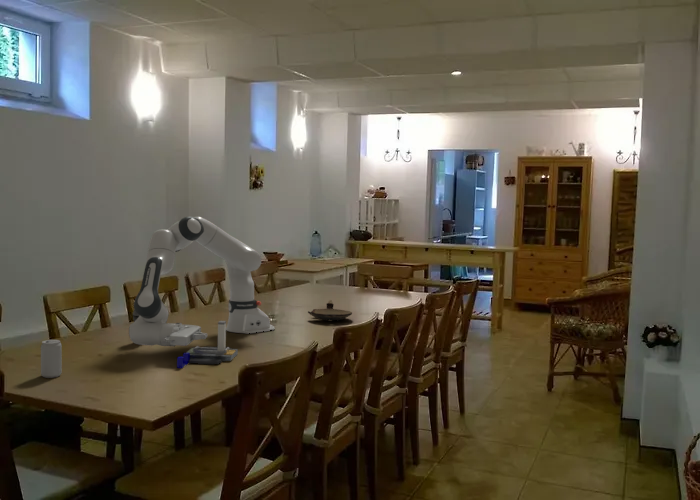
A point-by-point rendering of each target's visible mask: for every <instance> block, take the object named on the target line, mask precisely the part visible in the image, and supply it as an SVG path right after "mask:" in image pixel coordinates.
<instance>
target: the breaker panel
mask: <svg viewBox="0 0 700 500" xmlns="http://www.w3.org/2000/svg"><path fill="white" fill-rule="evenodd" d="M226 347H227V348H226V349H225V350H224V351H218V348H206V347H204V346H202V347H200V346H199V345H196V346H195V347H191V348H190V349H189V350H187V351H186V352H185V353H190V360H192V359H212V360H221V361H222V362H225V361H231V360H232V359H233V358H234V357H237V356H238V350H239V349H238V348H231V347H230V348H231V349H230V348H229V346H226ZM234 359H235V358H234ZM234 359H233V360H234ZM233 360H232V361H233ZM232 361H231V362H232Z"/></svg>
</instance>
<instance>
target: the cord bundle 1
mask: <svg viewBox="0 0 700 500" xmlns="http://www.w3.org/2000/svg"><path fill="white" fill-rule="evenodd" d="M203 347H206V348H218V346H205V345H204V346H203ZM227 347H229V346H226V348H227ZM229 348H230V349H232V348H231V347H229Z"/></svg>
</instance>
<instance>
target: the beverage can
mask: <svg viewBox="0 0 700 500" xmlns="http://www.w3.org/2000/svg"><path fill="white" fill-rule="evenodd" d="M41 343H42V344H41V345H40V375H41V376H42V377H43V378H47V379H51V378H52V379H53V378H57V377H60V375H61V374H62V373H63V371H62V368H63V365H62V361H63V359H62V357H63V356H62V355H63V353H62V352H63V351H62V348H63V347H62V343H61V340H60V339H46V340H42V341H41Z"/></svg>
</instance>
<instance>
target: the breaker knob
mask: <svg viewBox="0 0 700 500" xmlns="http://www.w3.org/2000/svg"><path fill="white" fill-rule="evenodd" d="M226 328H227V321H226V320H219V321H218V322H217V347H218V351H224V350H225V349H226V347H227V346H226V344H227V343H226V342H227V330H226Z"/></svg>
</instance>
